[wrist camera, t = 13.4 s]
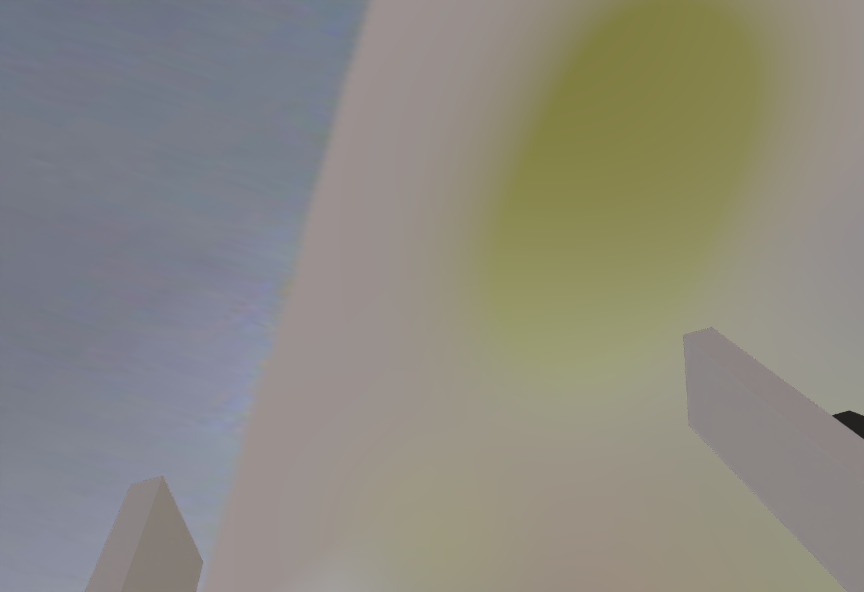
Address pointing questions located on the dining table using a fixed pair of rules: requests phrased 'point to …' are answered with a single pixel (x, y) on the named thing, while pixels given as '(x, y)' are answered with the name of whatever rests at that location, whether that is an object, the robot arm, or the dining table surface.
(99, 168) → the dining table surface
